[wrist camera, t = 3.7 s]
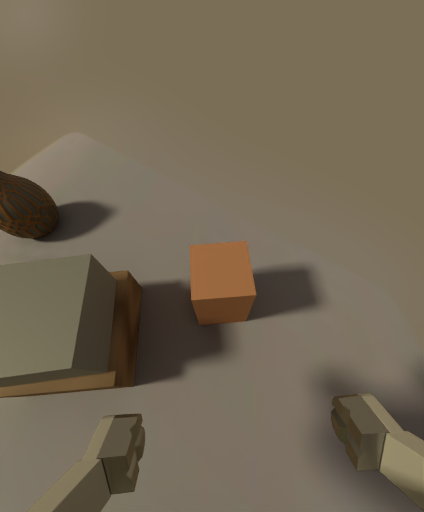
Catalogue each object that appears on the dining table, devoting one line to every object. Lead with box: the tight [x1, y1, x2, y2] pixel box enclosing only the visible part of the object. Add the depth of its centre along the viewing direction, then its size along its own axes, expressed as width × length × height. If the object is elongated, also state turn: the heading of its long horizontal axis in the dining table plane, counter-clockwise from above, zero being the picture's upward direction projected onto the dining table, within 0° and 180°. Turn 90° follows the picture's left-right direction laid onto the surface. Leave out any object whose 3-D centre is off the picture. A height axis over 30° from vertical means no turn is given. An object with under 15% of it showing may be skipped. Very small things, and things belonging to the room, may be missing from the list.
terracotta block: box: [190, 241, 256, 325], centre depth 22 cm, size 5×5×8 cm
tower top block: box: [0, 254, 117, 387], centre depth 17 cm, size 8×8×5 cm
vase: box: [0, 171, 58, 238], centre depth 28 cm, size 7×7×9 cm
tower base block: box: [0, 271, 142, 398], centre depth 22 cm, size 10×10×5 cm
